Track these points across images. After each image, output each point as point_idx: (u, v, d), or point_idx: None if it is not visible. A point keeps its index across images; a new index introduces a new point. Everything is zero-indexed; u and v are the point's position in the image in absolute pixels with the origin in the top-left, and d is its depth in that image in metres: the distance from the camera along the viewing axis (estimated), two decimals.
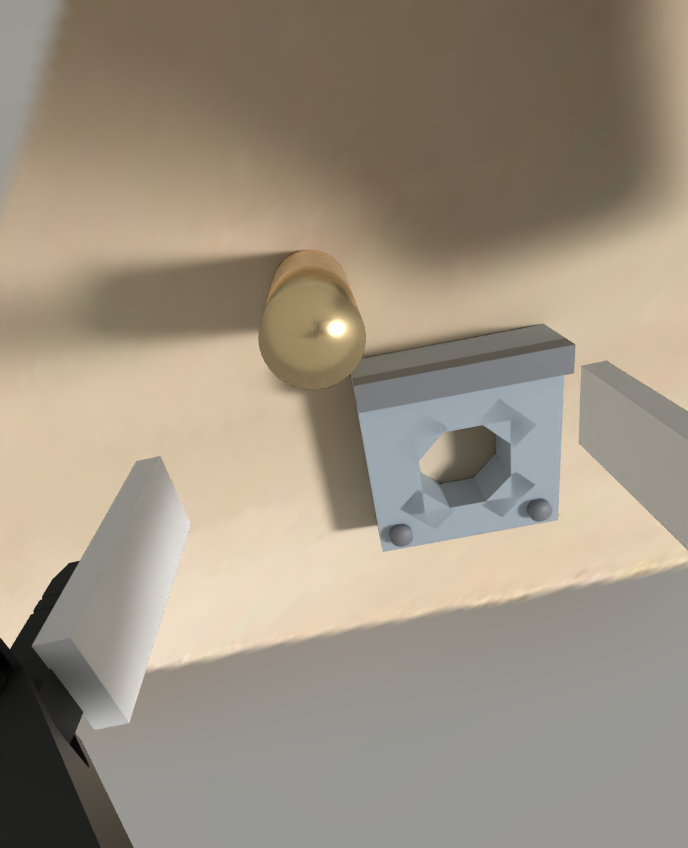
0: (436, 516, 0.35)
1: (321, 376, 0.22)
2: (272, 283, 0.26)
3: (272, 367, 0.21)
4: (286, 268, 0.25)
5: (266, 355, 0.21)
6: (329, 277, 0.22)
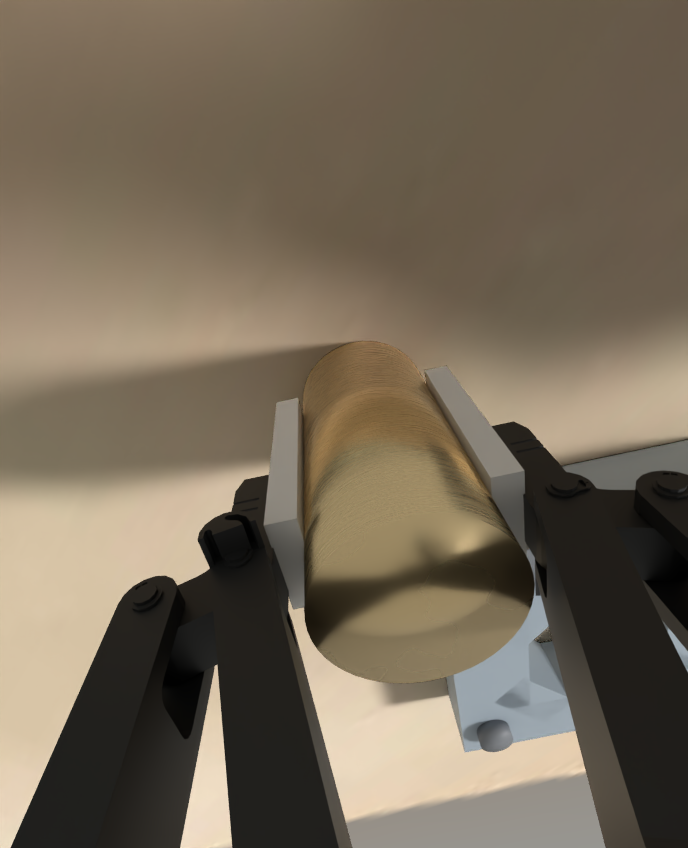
0: (547, 707, 0.24)
1: (433, 662, 0.11)
2: (310, 418, 0.15)
3: (332, 656, 0.10)
4: (337, 397, 0.14)
5: (322, 638, 0.10)
6: (438, 448, 0.11)
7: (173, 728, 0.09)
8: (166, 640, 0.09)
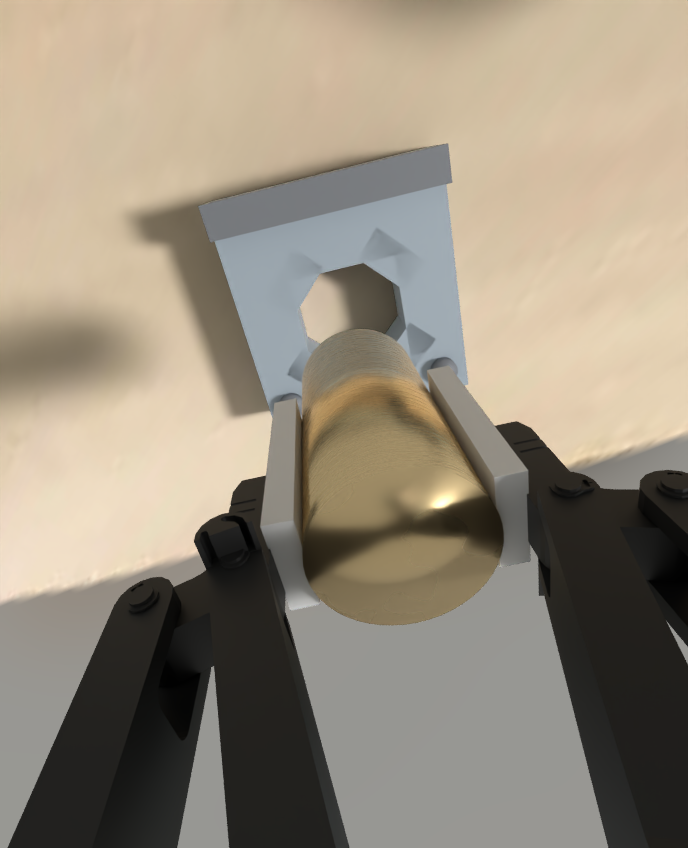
0: None
1: (416, 605, 0.12)
2: (308, 397, 0.16)
3: (327, 599, 0.12)
4: (332, 378, 0.15)
5: (318, 582, 0.11)
6: (421, 417, 0.12)
7: (169, 729, 0.09)
8: (162, 641, 0.09)
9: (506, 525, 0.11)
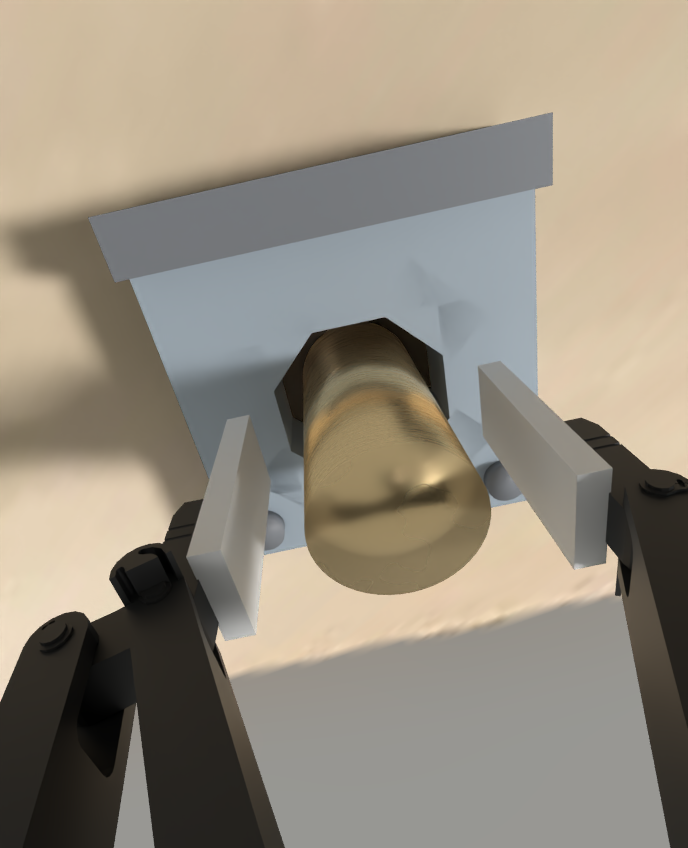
0: None
1: (411, 575, 0.13)
2: (309, 386, 0.17)
3: (327, 569, 0.12)
4: (331, 366, 0.16)
5: (319, 552, 0.12)
6: (415, 401, 0.13)
7: (92, 767, 0.08)
8: (78, 677, 0.09)
9: (584, 525, 0.11)
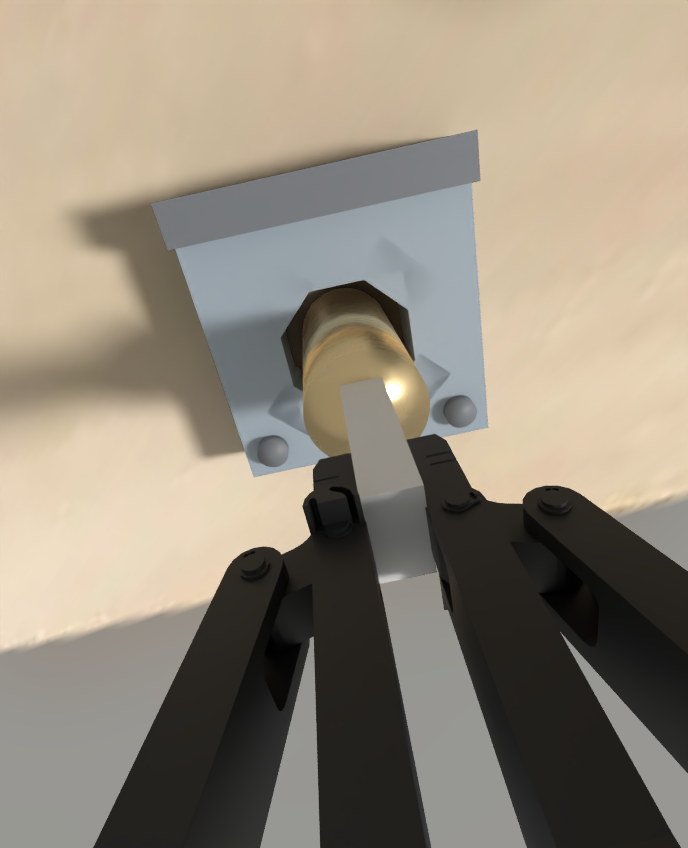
0: None
1: None
2: (307, 332, 0.23)
3: (319, 443, 0.18)
4: (324, 316, 0.22)
5: (313, 430, 0.18)
6: (381, 332, 0.19)
7: (270, 699, 0.09)
8: (270, 612, 0.09)
9: (408, 537, 0.12)
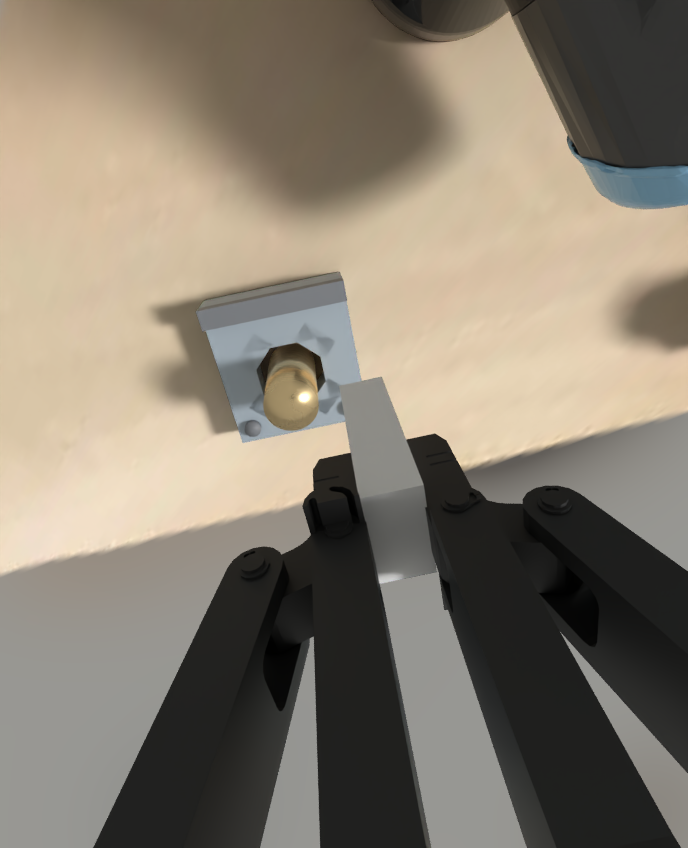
0: None
1: (296, 423, 0.41)
2: (269, 367, 0.46)
3: (270, 420, 0.41)
4: (277, 360, 0.45)
5: (267, 414, 0.41)
6: (299, 370, 0.42)
7: (270, 699, 0.09)
8: (270, 613, 0.09)
9: (408, 537, 0.12)
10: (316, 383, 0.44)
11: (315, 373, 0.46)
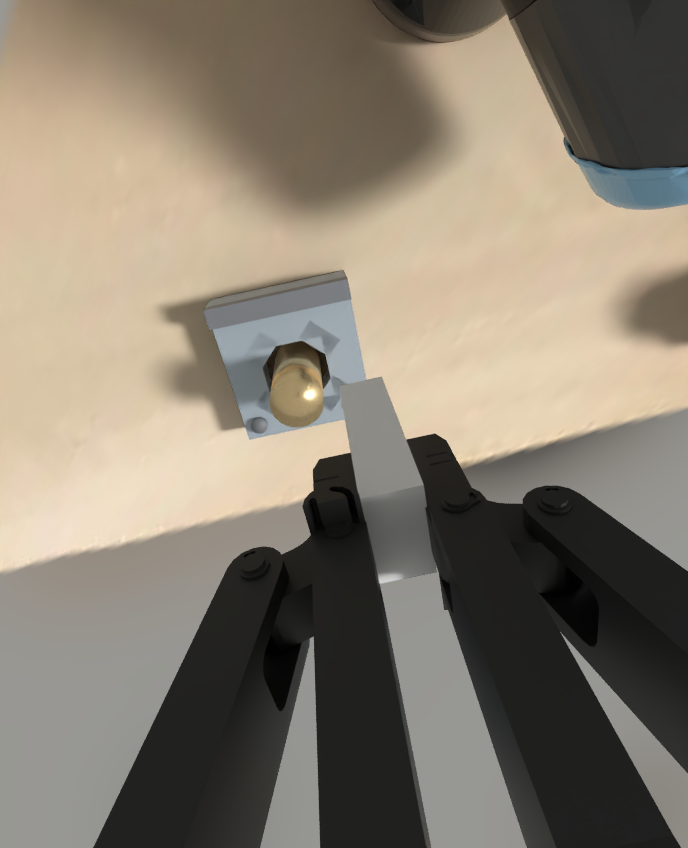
0: None
1: (302, 420, 0.42)
2: (275, 365, 0.47)
3: (277, 417, 0.42)
4: (282, 358, 0.46)
5: (274, 411, 0.42)
6: (305, 368, 0.43)
7: (270, 699, 0.09)
8: (270, 612, 0.09)
9: (408, 537, 0.12)
10: (321, 380, 0.45)
11: (320, 370, 0.47)
